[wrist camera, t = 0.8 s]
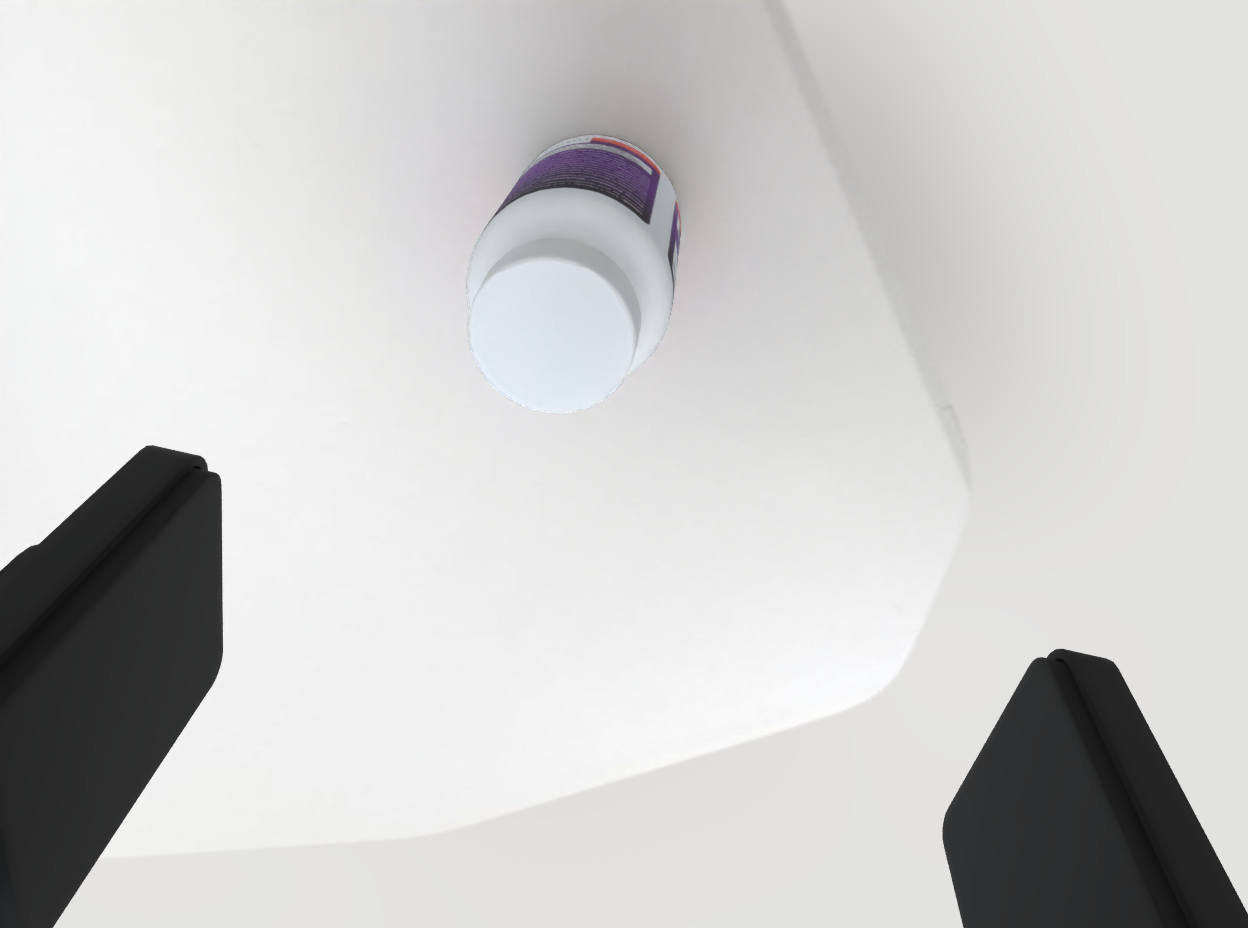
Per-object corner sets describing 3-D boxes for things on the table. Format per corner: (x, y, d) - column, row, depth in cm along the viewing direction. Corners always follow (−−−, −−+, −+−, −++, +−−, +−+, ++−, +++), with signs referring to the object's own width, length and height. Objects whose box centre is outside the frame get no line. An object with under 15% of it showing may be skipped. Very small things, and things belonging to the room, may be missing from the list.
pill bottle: (480, 192, 30) (389, 301, 22) (621, 96, 29) (580, 176, 20) (576, 328, 32) (526, 475, 24) (713, 247, 31) (710, 376, 22)
